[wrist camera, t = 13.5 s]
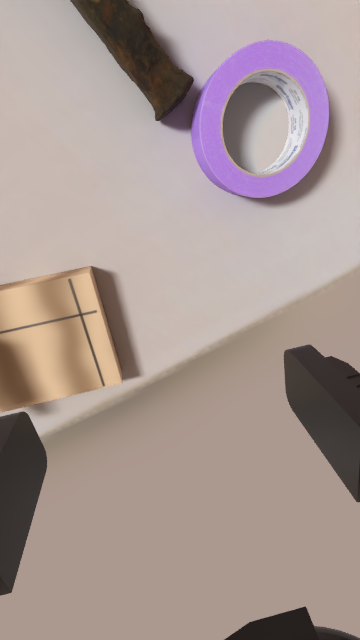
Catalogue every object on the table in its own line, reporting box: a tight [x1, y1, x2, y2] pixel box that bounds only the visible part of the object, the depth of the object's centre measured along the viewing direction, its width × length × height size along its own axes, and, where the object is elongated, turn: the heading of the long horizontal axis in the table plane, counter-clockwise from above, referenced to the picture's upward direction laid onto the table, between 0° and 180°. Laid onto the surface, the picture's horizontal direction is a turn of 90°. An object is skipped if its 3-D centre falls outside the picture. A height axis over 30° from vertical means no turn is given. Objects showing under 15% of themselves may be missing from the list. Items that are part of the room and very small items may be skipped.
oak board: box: [0, 266, 122, 413], centre depth 34 cm, size 20×13×3 cm, turn 100°
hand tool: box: [70, 0, 194, 121], centre depth 24 cm, size 19×4×5 cm, turn 41°
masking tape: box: [191, 40, 329, 198], centre depth 30 cm, size 12×12×4 cm
